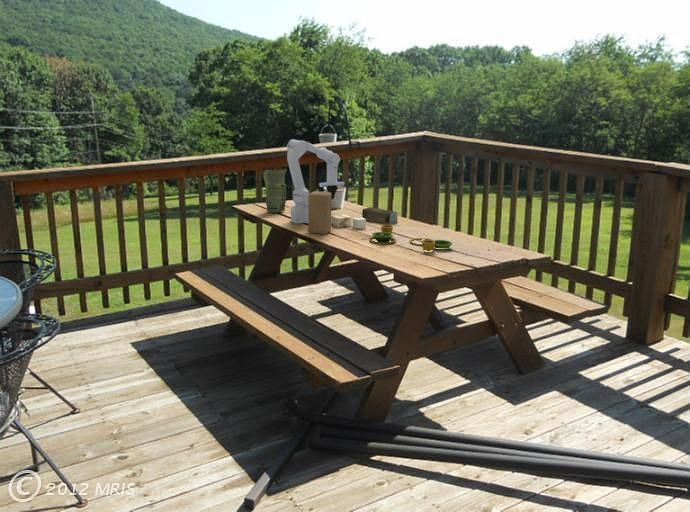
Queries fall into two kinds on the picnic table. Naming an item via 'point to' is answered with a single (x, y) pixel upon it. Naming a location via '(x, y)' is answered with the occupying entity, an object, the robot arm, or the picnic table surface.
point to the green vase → (275, 190)
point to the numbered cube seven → (359, 222)
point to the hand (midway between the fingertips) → (331, 199)
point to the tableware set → (427, 243)
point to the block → (319, 212)
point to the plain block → (341, 220)
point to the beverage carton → (380, 215)
